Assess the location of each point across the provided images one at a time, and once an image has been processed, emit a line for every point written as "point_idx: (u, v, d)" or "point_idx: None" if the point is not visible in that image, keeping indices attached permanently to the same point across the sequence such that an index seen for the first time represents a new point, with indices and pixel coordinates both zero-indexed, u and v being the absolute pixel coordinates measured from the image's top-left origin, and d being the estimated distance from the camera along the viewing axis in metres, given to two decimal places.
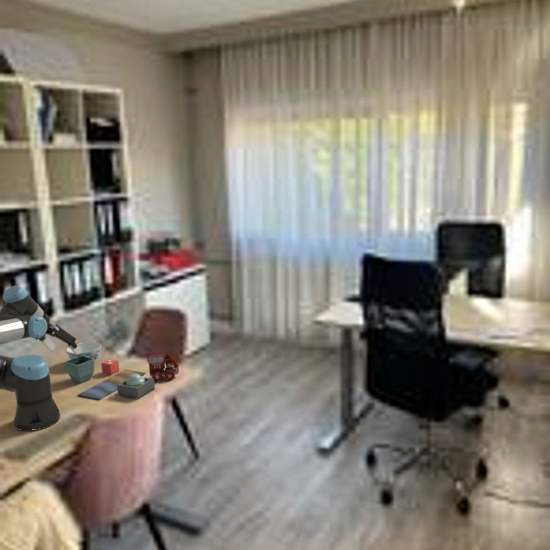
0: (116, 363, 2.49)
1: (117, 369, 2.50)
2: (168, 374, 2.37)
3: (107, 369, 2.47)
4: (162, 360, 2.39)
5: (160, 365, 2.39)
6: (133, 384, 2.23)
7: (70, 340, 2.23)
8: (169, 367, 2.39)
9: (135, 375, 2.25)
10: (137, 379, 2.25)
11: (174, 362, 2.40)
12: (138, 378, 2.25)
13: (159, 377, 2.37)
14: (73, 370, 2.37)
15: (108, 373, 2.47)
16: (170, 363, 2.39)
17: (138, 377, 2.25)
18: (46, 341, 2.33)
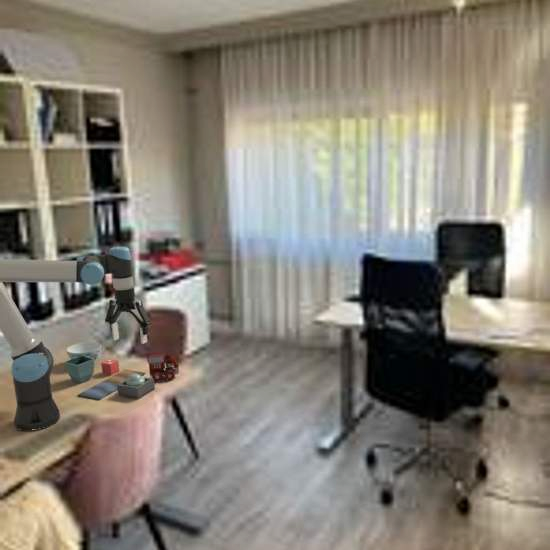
0: (116, 363, 2.49)
1: (117, 369, 2.50)
2: (168, 374, 2.37)
3: (107, 369, 2.47)
4: (162, 360, 2.39)
5: (160, 365, 2.39)
6: (133, 384, 2.23)
7: (146, 320, 2.17)
8: (169, 367, 2.39)
9: (135, 375, 2.25)
10: (137, 379, 2.25)
11: (174, 362, 2.40)
12: (138, 378, 2.25)
13: (159, 377, 2.37)
14: (73, 370, 2.37)
15: (108, 373, 2.47)
16: (170, 363, 2.39)
17: (138, 377, 2.25)
18: (114, 326, 2.25)
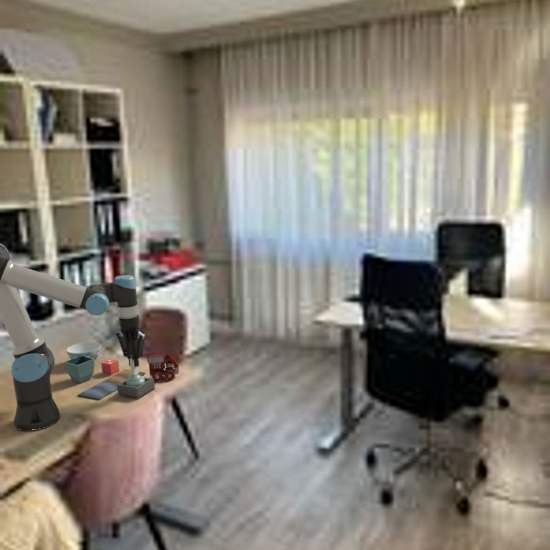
0: (116, 363, 2.49)
1: (117, 369, 2.50)
2: (168, 374, 2.37)
3: (107, 369, 2.47)
4: (162, 360, 2.39)
5: (160, 365, 2.39)
6: (133, 384, 2.23)
7: (139, 354, 2.22)
8: (169, 367, 2.39)
9: (135, 375, 2.25)
10: (137, 379, 2.25)
11: (174, 362, 2.40)
12: (138, 378, 2.25)
13: (159, 377, 2.37)
14: (73, 370, 2.37)
15: (108, 373, 2.47)
16: (170, 363, 2.39)
17: (138, 377, 2.25)
18: None
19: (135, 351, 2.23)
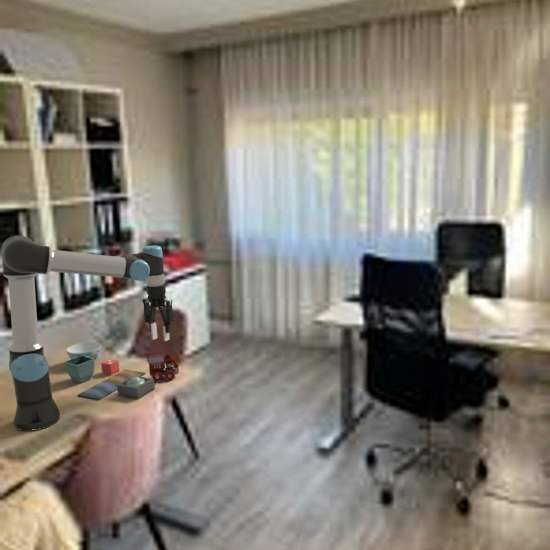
0: (116, 363, 2.49)
1: (117, 369, 2.50)
2: (168, 374, 2.37)
3: (107, 369, 2.47)
4: (162, 360, 2.39)
5: (160, 365, 2.39)
6: None
7: (170, 320, 2.32)
8: (169, 367, 2.39)
9: (135, 378, 2.26)
10: (137, 382, 2.25)
11: (174, 362, 2.40)
12: (138, 381, 2.25)
13: (159, 377, 2.37)
14: (73, 370, 2.37)
15: (108, 373, 2.47)
16: (170, 363, 2.39)
17: (138, 380, 2.25)
18: (153, 326, 2.37)
19: (165, 317, 2.33)
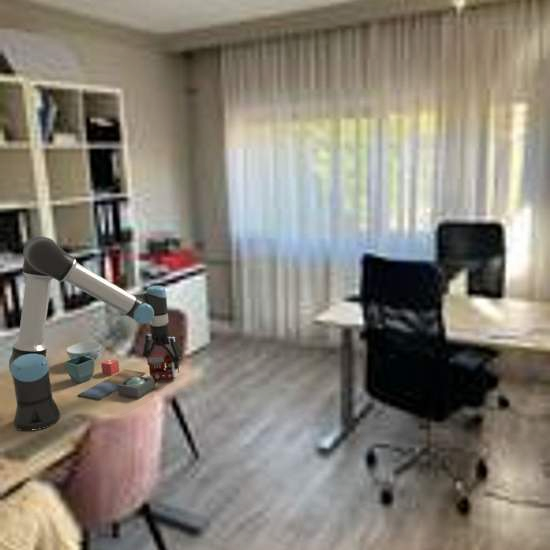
0: (116, 363, 2.49)
1: (117, 369, 2.50)
2: (168, 374, 2.37)
3: (107, 369, 2.47)
4: (162, 360, 2.39)
5: (160, 365, 2.39)
6: None
7: (178, 356, 2.34)
8: (169, 367, 2.39)
9: (135, 378, 2.26)
10: (137, 382, 2.25)
11: None
12: (138, 381, 2.25)
13: (159, 376, 2.37)
14: (73, 370, 2.37)
15: (108, 373, 2.47)
16: (170, 363, 2.39)
17: (138, 380, 2.25)
18: None
19: (172, 354, 2.36)
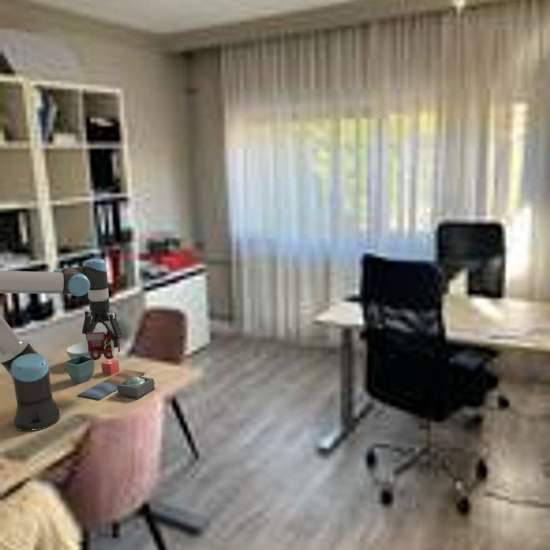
0: (116, 363, 2.49)
1: (117, 369, 2.50)
2: (107, 352, 2.25)
3: (107, 369, 2.47)
4: (102, 338, 2.26)
5: (99, 343, 2.26)
6: None
7: (117, 333, 2.22)
8: (109, 345, 2.27)
9: (135, 378, 2.26)
10: (137, 382, 2.25)
11: None
12: (138, 381, 2.25)
13: (98, 355, 2.25)
14: (73, 370, 2.37)
15: (108, 373, 2.47)
16: (110, 341, 2.27)
17: (138, 380, 2.25)
18: None
19: (112, 331, 2.23)
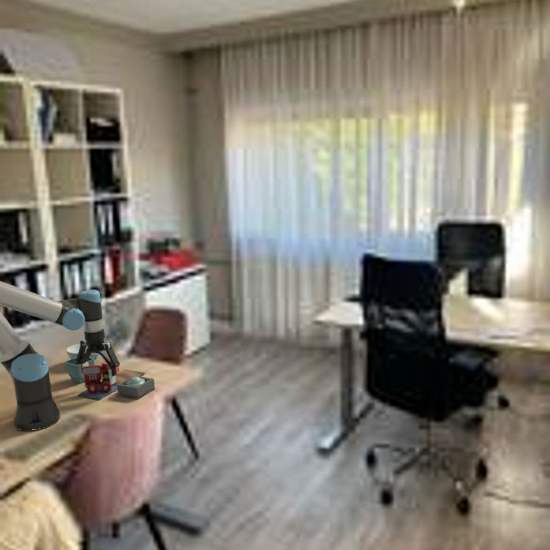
0: None
1: (117, 369, 2.50)
2: (104, 386, 2.27)
3: None
4: (98, 371, 2.28)
5: (96, 376, 2.28)
6: None
7: (115, 362, 2.23)
8: (106, 378, 2.29)
9: (135, 378, 2.26)
10: (137, 382, 2.25)
11: None
12: (138, 381, 2.25)
13: (95, 388, 2.26)
14: (73, 370, 2.37)
15: None
16: (107, 374, 2.29)
17: (138, 380, 2.25)
18: None
19: (109, 360, 2.24)
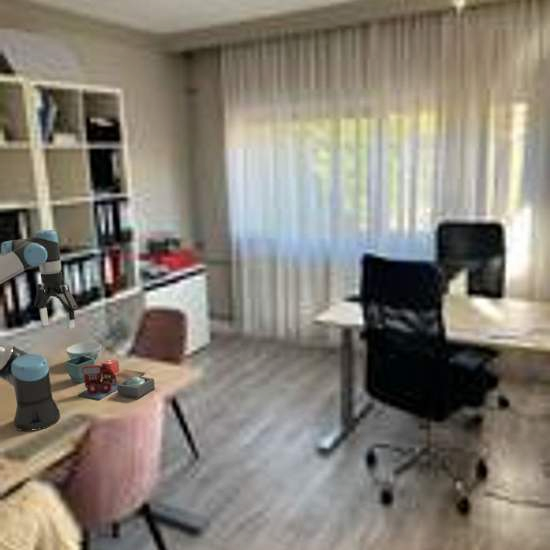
0: (116, 363, 2.49)
1: (117, 369, 2.50)
2: (104, 386, 2.27)
3: None
4: (98, 371, 2.28)
5: (96, 376, 2.28)
6: None
7: (72, 305, 2.14)
8: (106, 378, 2.29)
9: (135, 378, 2.26)
10: (137, 382, 2.25)
11: (111, 373, 2.29)
12: (138, 381, 2.25)
13: (95, 388, 2.26)
14: (73, 370, 2.37)
15: None
16: (107, 374, 2.29)
17: (138, 380, 2.25)
18: (43, 311, 2.22)
19: (66, 303, 2.15)
